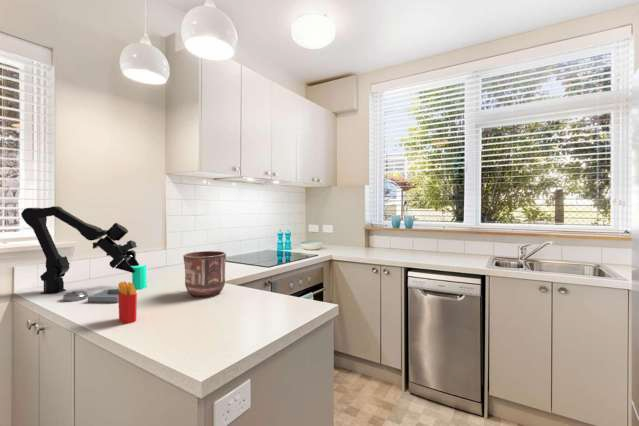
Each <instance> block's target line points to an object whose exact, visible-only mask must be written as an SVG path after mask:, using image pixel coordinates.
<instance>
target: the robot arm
mask: <svg viewBox="0 0 639 426" xmlns="http://www.w3.org/2000/svg"><path fill="white" fill-rule="evenodd" d="M20 215H21V217H22V219H23V221H24V223H26V224H27V225H28V226H29V227H30V228H31V229H32V230H33V232H34V234H35V237H36V239H37V241H38V244H39V245H40V246H39V247H40V248H41V250H42V253H43V254H44V256H45V269H46V270H45V271H44V272H43V273H42V274H41V275H40V276H39V277H40V280H41V282H43V291H41V292H40V295H42V294H43V295H45V294H46V295H48V294H49V295H53V294H54V295H55V294H58V293H62V292H64V291H66V289H65V287H64V285H65V284H64V283H65V282H64V278H63V277H65V275H66V273H67V272H68V271H69V269H70V265H71V263H70V262H69V260H68V256H66V255H65V256H62V255H61V254H60V253H59V250H58V248H57V247H56V244H55V242H54V240H53V238H52V236H51V233H50V230H49V229H48V226H47V220H48V218H47V217H55V218H56V219H58V220H60V221H61V222H63V223H65V224H67V225H69V226H70V227H72V228H74V229H75V230H77V231H78V232H79V234H80V235H81V236H82V237H83V238H85V239H86V240H87V241H90V242H92V241H95V242H92V249H93V250H94V249H97V248H100V249H101V250H102V251H103V252H104V253H106V254H105V255H106V256H108V257H110V258H112V260H111V261H110V262H109V267H111V268H112V269H116V270H121V271H125V272H128V273H131V274H132V273H134V272H135V270H134V269H133V268H132V266H138V265H139V263H140V262H138V261H137V257H136V256H137V252H136V251H135V250H134V248H137V242H136V241H134V240H128V241H127V242H126V243H125V244H123V245H122V244H117V243H116V241H117V242H119V241H120V240H122V239H123V238H124V237H125V236H126V235H127V234H128V233H129V230H128V229H127V228H126V227H125V226H123V225H121V224H120V223H118V222H114V223H113V224H112V226H111V227H110V228H108V229H102V228H101V227H98V226H96V225H93V224H90V223H87V222H86V221H83V220H82V219H80V218H78V217H77V216H75V215H73V214H72V213H70V212H68V211H66V210H65V209H63V208H62V207H61V206H57V205H56V206H50V207H26V208H24V209H22V211H21V213H20ZM104 236H105V237H104ZM96 240H97V241H96Z"/></svg>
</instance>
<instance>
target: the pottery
mask: <svg viewBox="0 0 639 426" xmlns="http://www.w3.org/2000/svg"><path fill="white" fill-rule="evenodd" d="M226 260H227V253H226V252H225V251H219V250H218V251H217V250H216V251H215V250H213V251H212V250H205V251H194V252H188V253H185V254H184V255H183V263H184V285H185V289H186V290H187V292H188V294H190V295H191V296H192V297H196V298H208V297H214V296H217V295H219V294H220V293H221V292H222V291H223V289H224V286H225V285H226Z"/></svg>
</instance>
